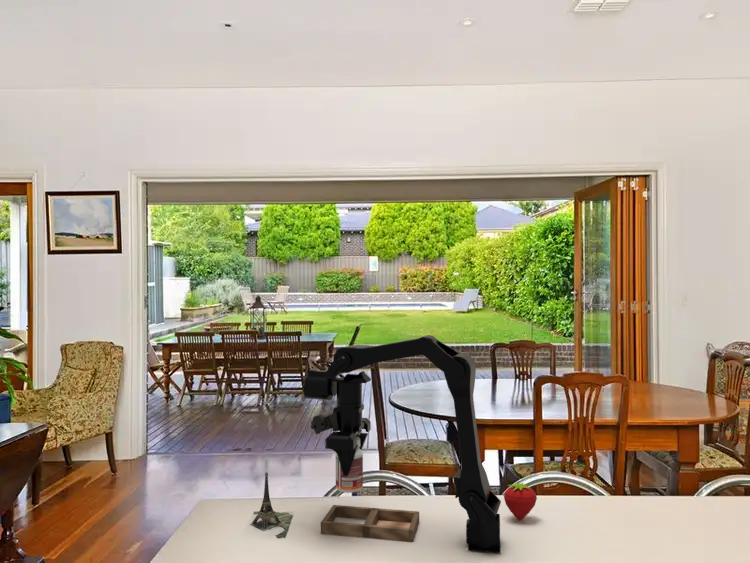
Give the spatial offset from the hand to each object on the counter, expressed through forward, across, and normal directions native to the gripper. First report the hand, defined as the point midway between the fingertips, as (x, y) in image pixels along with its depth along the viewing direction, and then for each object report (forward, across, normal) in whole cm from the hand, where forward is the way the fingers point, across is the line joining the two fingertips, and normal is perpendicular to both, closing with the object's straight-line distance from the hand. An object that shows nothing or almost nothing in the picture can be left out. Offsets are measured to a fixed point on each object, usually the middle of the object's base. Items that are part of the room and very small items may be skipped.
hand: (349, 470), depth 130 cm
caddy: (+12, 0, +5) cm, 13 cm away
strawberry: (+13, -11, +38) cm, 42 cm away
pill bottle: (+4, 0, 0) cm, 4 cm away
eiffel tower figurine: (+13, +3, -18) cm, 23 cm away
